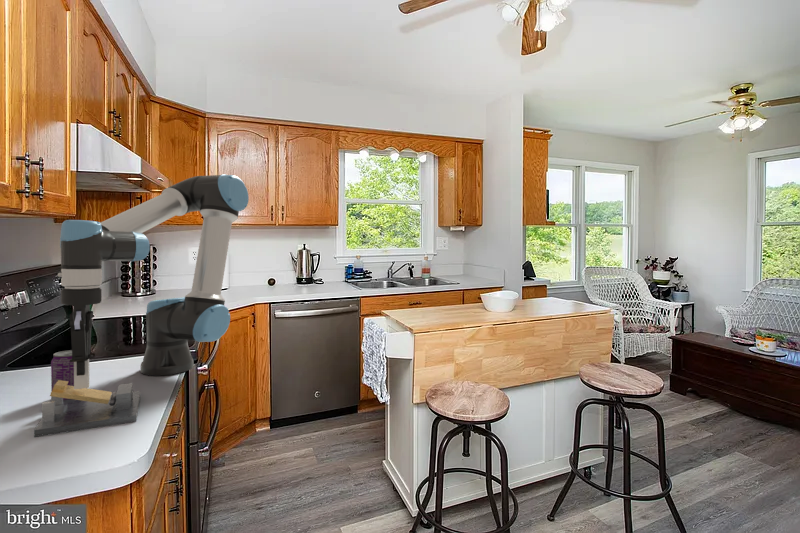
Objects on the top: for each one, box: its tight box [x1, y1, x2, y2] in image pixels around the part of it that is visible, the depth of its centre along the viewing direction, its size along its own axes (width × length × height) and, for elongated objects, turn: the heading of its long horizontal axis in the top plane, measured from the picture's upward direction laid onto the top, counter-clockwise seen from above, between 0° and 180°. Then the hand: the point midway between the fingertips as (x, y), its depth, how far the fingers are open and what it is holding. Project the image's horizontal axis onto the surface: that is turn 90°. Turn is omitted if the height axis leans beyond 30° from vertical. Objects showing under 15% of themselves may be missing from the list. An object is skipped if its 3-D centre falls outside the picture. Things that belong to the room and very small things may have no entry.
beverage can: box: [50, 349, 74, 401], centre depth 110 cm, size 7×7×12 cm
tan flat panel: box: [49, 380, 117, 406], centre depth 99 cm, size 7×13×2 cm, turn 119°
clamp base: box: [33, 382, 141, 438], centre depth 100 cm, size 18×18×6 cm
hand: (81, 387), depth 98 cm, fingers closed
